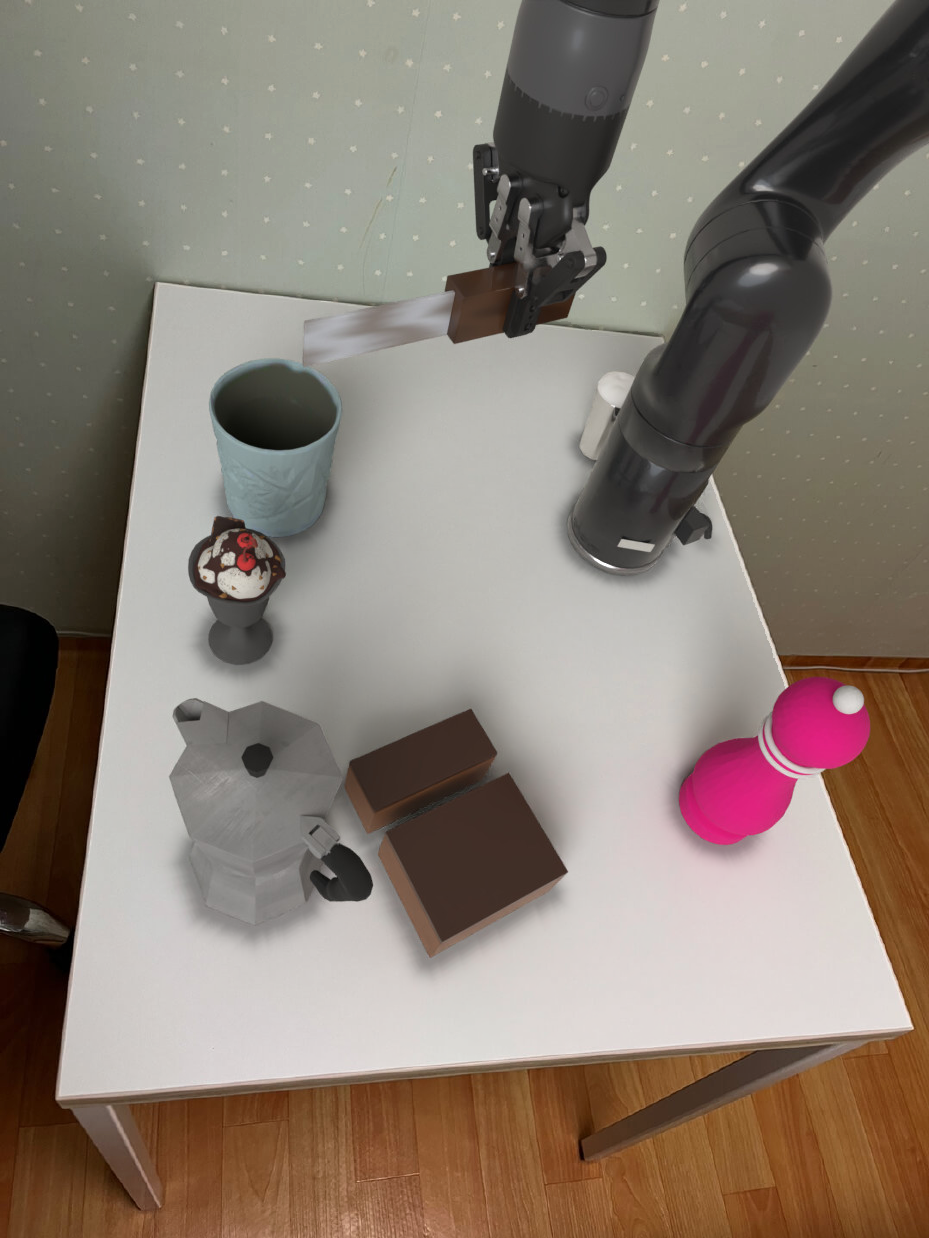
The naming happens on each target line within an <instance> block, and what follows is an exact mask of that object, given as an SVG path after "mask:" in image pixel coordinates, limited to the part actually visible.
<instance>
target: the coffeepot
mask: <svg viewBox="0 0 929 1238" xmlns="http://www.w3.org/2000/svg"><path fill="white" fill-rule="evenodd" d="M171 717H172V718H173V721H174V723H175V725H176V727H177V729H178V732H179V733H180V736H181V737H182V740H183V742H184V743H185V745H186V746H185V747H184V749H183V751H182V753H181V755H180V756H179V758H178V760H177V762H176V763H175V765H174V767H173V769H172V770H171V772H170V774H169V776H168V779H169V781H170V782H169V783H170V784H171V788H172V792H173V795H174V797H175V800H176V803H177V806H178V809H179V812H180V814H181V818H182V820H183V822H184V827H185V828H186V831H187V834H188V837H189V838H190V840H192V841H193V844H192V848H191V851H190V854H189V855H188V856H189V861H190V863H191V867H192V869H193V872H194V876H195V878H196V881H197V884H198V887H199V891H200V893H201V896H202V899H203V902H204V905H205V907H208V908H210V909H213V910H215V911H218V912H220V913H222V914H225V915H226V916H228V917H230V918H233V919H237V920H240V921H243V922H245V923H248V924H250V925H253V926H257V925H260V924H262V923H264V922H267V921H270V920H272V919H275V918H277V917H280V916H282V915H284V914H286V913H288V912H290V911H292V910H295V909H296V908H299V907H301V906H303V905H306V904H307V902H308V899H309V897H310V895H311V892H312V890H313V888H315V889H316V891H317V892H318V893H319V895H320V896H321V897H322V898H323V899H324V900H326V901H328V902H331V903H332V902H337V903H338V902H340V903H342V902H344V903H345V902H358V903H359V902H362V901H366V900H367V899H368V898H369V897H370V896H371V894H372V891H373V888H374V882H373V878H372V874H371V872H370V871H369V869H368V868H367V866H366V865H365V862H364V861H363V859H362V858H361V857H360V855H358V854H357V852H355V851H354V850H353V849H352V848H351V847H348V846H347V845H344V844H342V843H341V842H339V841H340V840H341V835H340V834H339V833H338V832H336V830H335V829H334V828H333V827H331V826H330V824H328V823H327V822H326V821H325V820H326V817H327V816H328V813H329V811H330V809H331V807H332V804H333V802H334V799H335V798H336V796H337V793H338V791H339V789H340V787H341V784H342V782H343V780H344V776H343V774H342V771H341V769H340V767H339V764H338V763H337V760H336V758H335V756H334V752H333V751H332V749H331V746H330V744H329V742H328V739H327V738H326V737H327V736H326V735H325V732H324V730H323V728H322V726H321V723H319V722H317V721H314V720H313V719H309V718H307V717H304V716H302V715H300V714H297V713H294V712H291V711H289V710H287V709H284V708H281V707H279V706H277V705H273V704H272V703H269V702H266V701H263V700H260V701H257V702H255V703H252V704H251V703H250V704H249V705H246V706H243V707H240V708H237V709H234V710H229V711H228V710H226V709H223V708H221V707H218V706H217V705H214V704H212V703H211V702H208V701H205V700H202V699H199V698H198V697H193V698H189V699H186V700H184V701H182V702H180V703H179V704H178V705H176V707H175V708H174V709H173V712H172V716H171ZM323 865H325V866H326V867H327V868H328V869H329V870H330V871H331V872H332V873H333V875H335V877H334V876H333V877H332V878H329V877H328V876H326V875H325V874H324V873H322V872H321V869H322V867H323Z"/></svg>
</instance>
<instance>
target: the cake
mask: <svg viewBox="0 0 929 1238" xmlns="http://www.w3.org/2000/svg"><path fill="white" fill-rule="evenodd" d="M377 856H378V858H379V860H380V862H381V864H382V866H383V867H384V870H385V872H386V874H387V876H388V878H389V880H390V882H391V884H392V886H393V888H394V889H395V892H396V894H397V895H398V898H399V900H400V902H401V904H402V906H403V908H404V910H405V912H406V913H407V916H408V918H409V919H410V921H411V924H412V926H413V928H414V929H415V932H416V933H417V936H418V938H419V939H420V942H421V945H422V946H423V948H424V950H425V952H426V953H427V955H428V957H429V958H430V959H432V958H433V957H435V956H436V955H438V954H440V953H442V952H444V951H445V950H447V949H449V948H451V947H452V946H454V945H456V944H458V943H460V942H462V941H464V940H465V939H466V938H468V937H470V936H472V935H474V934H475V933H478V932H479V931H481V930H482V929H485V928H486V927H488V926H490V925H492V924H493V923H496V922H497V921H499V920H501V919H502V918H504V917H506V916H508V915H510V914H511V913H513V912H515V911H517V910H518V909H520V908H522V907H524V906H526V905H527V904H530V903H531V902H533V901H534V900H536V899H538V898H540V897H541V896H544V895H545V894H547V893H549V892H550V890H552V889H553V888H554V887H555V886H557V884H558V883H559V882H560V881H561V880H562V879H563V878H564V877H565V876H566V875H567V874H568V873H569V870H568V869H567V867H566V866H565V864H564V862H563V860H562V859H561V857H560V855H559V853H558V851H557V850H556V848H555V847H554V845H553V844H552V841H550V839H549V836H548V835H547V833H546V831H545V830H544V829H543V827H542V824H541V823H540V821H539V820H538V818H537V817H536V815H535V813H534V811H533V810H532V808H531V807H530V804H529V803H528V802H527V800H526V798H525V796H524V795H523V793H522V791H521V789H520V788H519V786H518V785H517V783H516V781H515V779H514V778H513V776H512V774H511V773H510V772H507V773H505V774H503V775H501V776H499V777H496V778H495V779H492V780H490V781H488V782H486V783H484V784H482V785H480V786H478V787H475V788H474V789H471V790H470V791H467V792H466V793H463V794H461V795H459V796H457V797H455V798H453V799H451V800H449V801H446V802H445V803H442V804H440V805H438V806H436V807H434V808H432V809H430V810H428V811H426V812H423V813H421V814H420V815H417V816H415V817H414V818H411V819H408V820H407V821H405V822H403V823H401V824H399V825H397V826H395V827H393V828H391V829H388V830H386V831H385V833H384V835H383V839H382V841H381V844H380V846H379V849H378V851H377Z"/></svg>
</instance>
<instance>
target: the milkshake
mask: <svg viewBox="0 0 929 1238" xmlns="http://www.w3.org/2000/svg"><path fill="white" fill-rule="evenodd" d="M634 379H635V376H633V375H631V374H629V373H627V372H623V371H609V372H606V373H605V374H604V375H603V376H601V378H599V381H598V382H597V386H596V390H595V393H594V396H593V400H592V403H591V408H590V411H589V413H588V414H589V416H588V418H587V421H586V424H585V426H584V430H583V433H582V436H581V439H580V442H579V445H578V447H579V449H580V452H581V453H582V455H584V456H585V457H587V458H588V459H590V460H593V461H596V460H597V458H598V456H599V454H600V452H601V450H602V447H603V445H604V443H605V441H606V439H607V437H608V435H609V432H610V430H611V428H612V426H613V424H614V422H615V420H616V417H617V415H618V413H619V411H620V409H621V406H622V404H623V402H624V400H625V398H626V396H627V394H628V391H629V389H630V387H631V385H632V383H633V381H634Z"/></svg>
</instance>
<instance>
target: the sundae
mask: <svg viewBox="0 0 929 1238" xmlns="http://www.w3.org/2000/svg"><path fill="white" fill-rule="evenodd" d="M187 561H188V563H187V573H188V575H187V576H188V578H189V581H190V584H191V586H192V587H193V588H194V589H195V590H196V591H197V592H198V593H199V594H201V595H202V596H204V597H206V600H207V602H208V605H209V607H210V609H211V611H212V613H213V615H214V616H215V618H216V621H214V623H213V624H212V626H211V627H210V629H209V631H208V638H207V639H208V647H209V648H210V650H211V652H212V654H213V655H214V656H215V657H217V658H218V659H220V661H223V663H227V664H231V665H235V666H236V665H237V666H240V665H241V666H242V665H250V664H253V663H255V662H258V661H259V660H261V659H262V658H263V657H264V656H265V655H266V654H267V653H268V652H269V651H270V648H271V646H272V643H273V633H272V629H271V627H270V626H269V624H268V622H267V621H266V620H265V619H263V618H262V617H263V615H264V613H265V611H266V609H267V608H268V604H269V601H270V597H271V596H272V595H273V594H274V593H275V591H277V589H278V588H279V586H280V585H281V582H282V580H284V579H285V578H286V576H287V572H286V559H285V555H284V554H283V552H282V551H281V549H280V548H279V546H278V545H277V544H276V542H275V541H274V540H272V539H271V538H270V536H266V535H264V534H263V533H261V532H258V531H256V530H253V529H248V528H246V527H245V523H244V520H241V519H236V518H234V517H229V516H222V515H221V516H220V515H217V516H214V519H213V523H212V527H211V532H210V535H207V536H205V537H204V538H202V539H201V540H200V541H198V542H197V543H196V544H195V545H194V547H193V548H192V550H191V552H190V555H189V557H188V560H187Z"/></svg>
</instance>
